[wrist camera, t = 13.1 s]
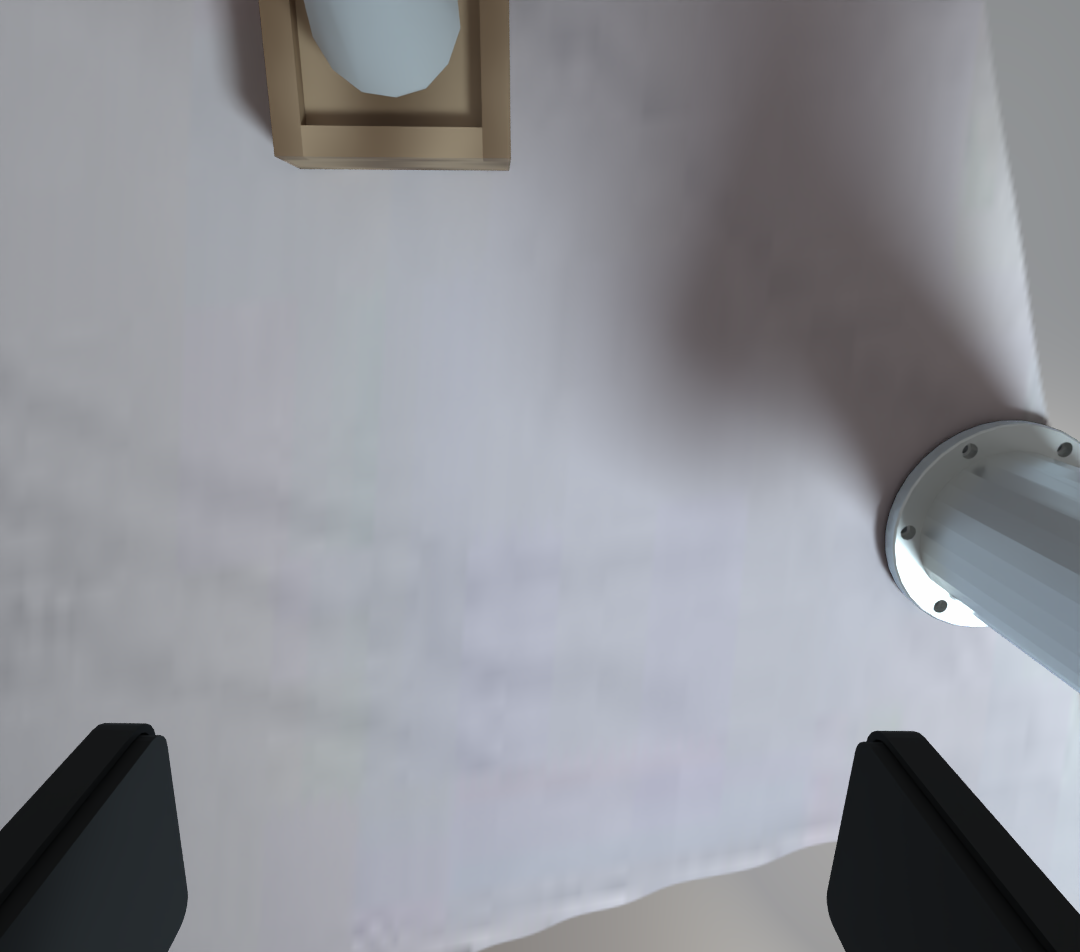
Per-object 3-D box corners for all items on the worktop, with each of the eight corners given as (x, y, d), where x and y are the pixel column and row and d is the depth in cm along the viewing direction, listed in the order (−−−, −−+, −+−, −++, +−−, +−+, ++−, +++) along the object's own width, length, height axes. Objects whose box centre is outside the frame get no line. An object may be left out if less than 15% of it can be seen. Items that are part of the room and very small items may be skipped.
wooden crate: (506, -74, 31) (507, -122, 27) (509, 170, 34) (510, 158, 30) (277, -81, 30) (244, -131, 26) (300, 168, 33) (274, 156, 29)
